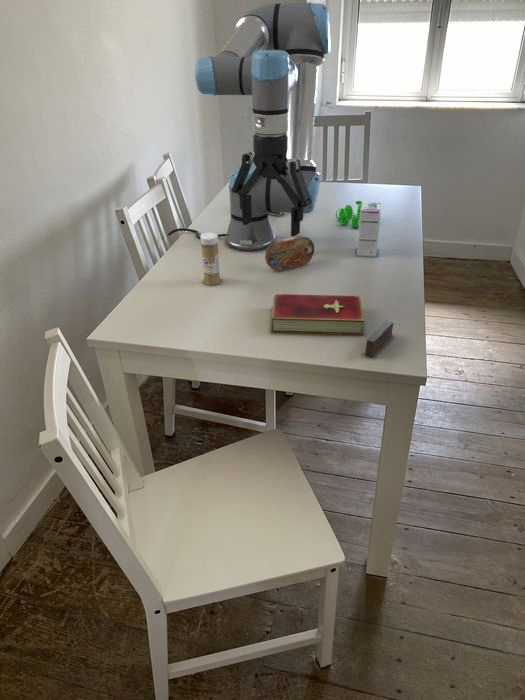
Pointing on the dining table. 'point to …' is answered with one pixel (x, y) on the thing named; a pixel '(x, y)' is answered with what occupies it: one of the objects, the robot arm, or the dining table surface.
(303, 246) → the tin
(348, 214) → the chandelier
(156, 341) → the dining table surface
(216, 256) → the sprinkles bottle
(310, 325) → the hardcover book
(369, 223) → the syrup box
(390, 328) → the bar
